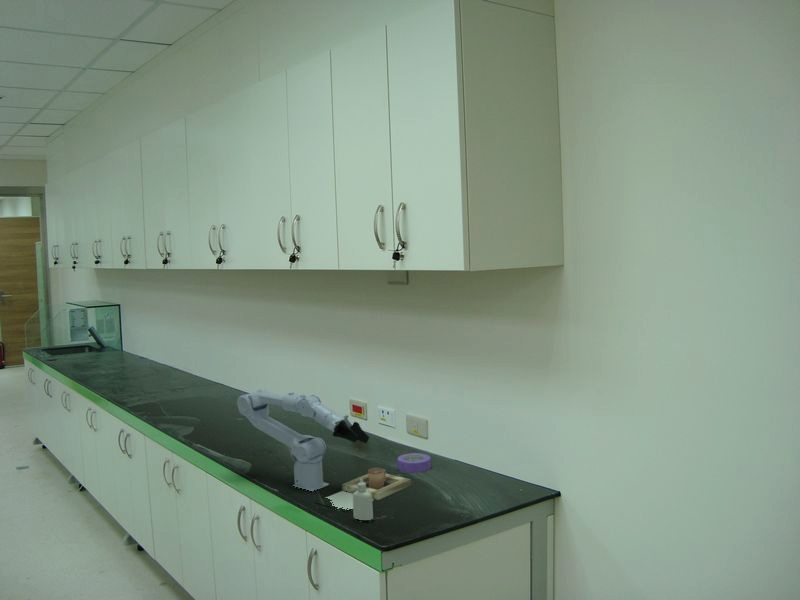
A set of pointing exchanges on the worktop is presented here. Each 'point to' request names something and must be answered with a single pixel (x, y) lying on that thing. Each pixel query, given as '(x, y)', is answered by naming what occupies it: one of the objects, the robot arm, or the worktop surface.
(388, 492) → the holder
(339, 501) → the mat
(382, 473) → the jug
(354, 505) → the eye dropper bottle
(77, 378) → the worktop surface
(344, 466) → the worktop surface
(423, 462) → the masking tape
